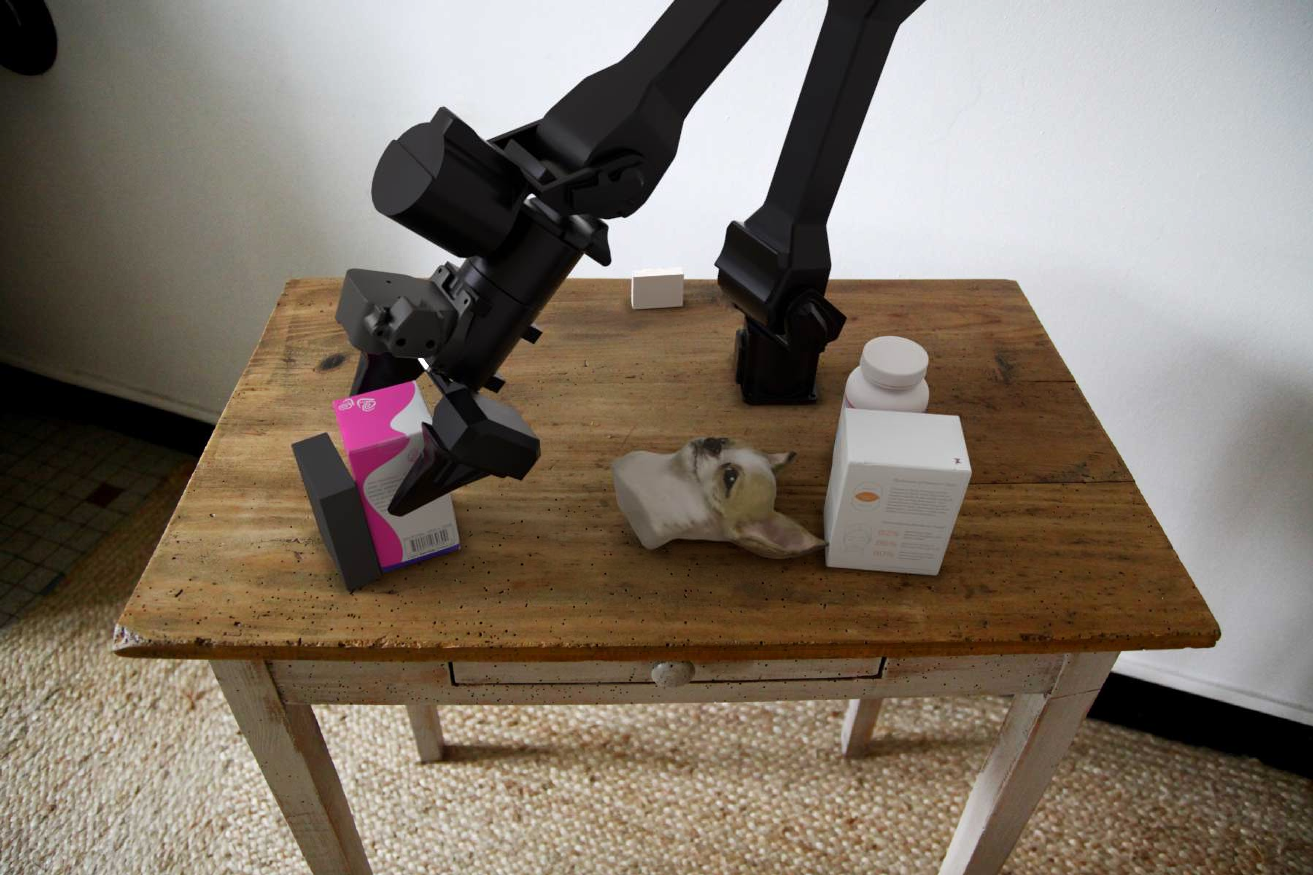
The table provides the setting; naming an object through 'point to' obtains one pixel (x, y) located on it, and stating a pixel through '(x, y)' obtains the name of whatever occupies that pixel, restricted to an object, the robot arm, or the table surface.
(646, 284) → the eraser
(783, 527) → the ceramic sculpture
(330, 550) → the black rubber pad
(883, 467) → the small box
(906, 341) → the pill bottle
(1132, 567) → the table surface
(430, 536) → the supplement box
